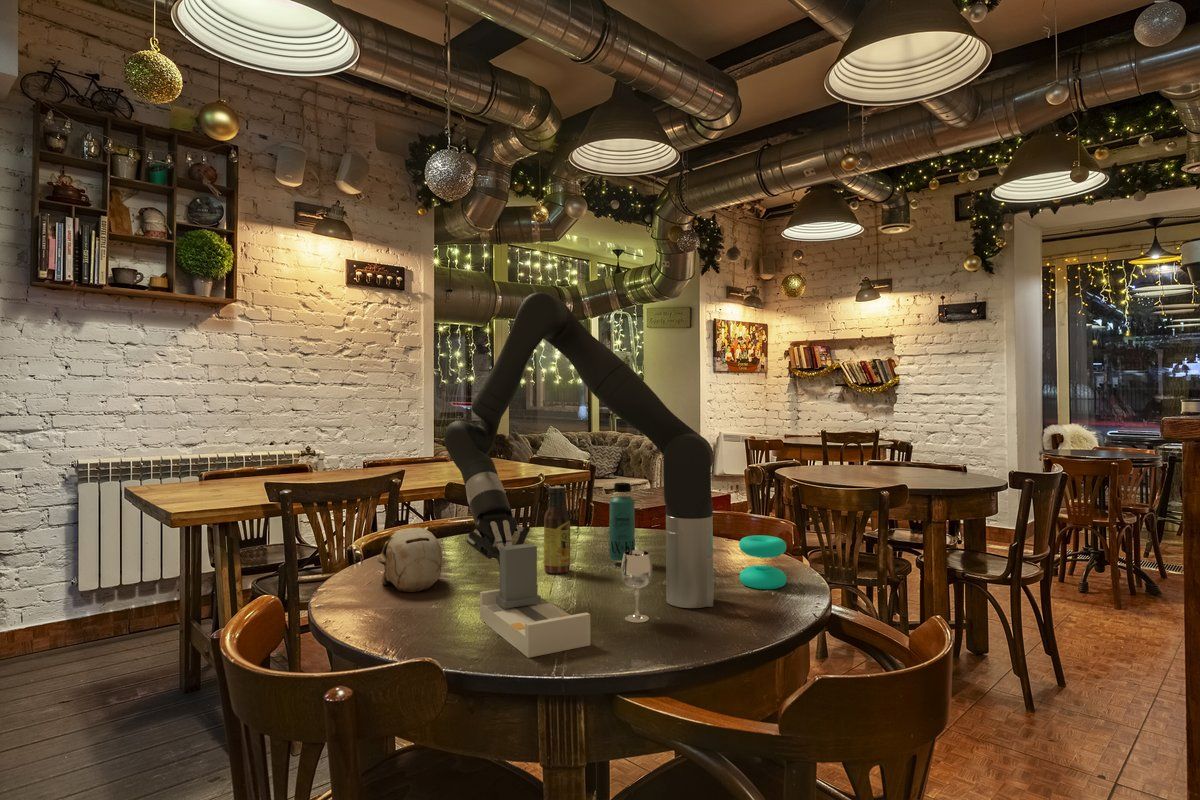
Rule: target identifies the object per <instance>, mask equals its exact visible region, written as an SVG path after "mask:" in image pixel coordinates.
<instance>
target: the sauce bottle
mask: <svg viewBox="0 0 1200 800" xmlns="http://www.w3.org/2000/svg"><path fill="white" fill-rule="evenodd" d="M566 489H567V488H566V486H549V487H548V497H549V498H548V499H549V503H548V508H547V510H546V511H545V514H544V517H543V519H544V520H543V521H544V523H543V524H544V526H543V565H544V566H543V570H544V572H545V573H547V574H554V575H555V574H557V575H558V574H559V573H560V574H565V573H568V572H569V571H570V566H571V519H570V516H569V513H568V510H567V507H566V492H567V490H566ZM560 574H559V575H560Z"/></svg>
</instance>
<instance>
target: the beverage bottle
mask: <svg viewBox="0 0 1200 800" xmlns="http://www.w3.org/2000/svg"><path fill="white" fill-rule="evenodd" d="M613 485H614V487H613V492H615V493H629V492H630V493H631V484H630V482H615V483H614V484H613ZM635 501H636V500H634V499H633V497H631V496H630V495H615V496H613V497H611V499H610V500H609V522H608V535H609V536H608V554H609V555H608V556H609V559H610V560H612V561H618V562H619V561H621V562H622V559H623V555H624V552H626V551H632V550H636V537H635V536H636V528H635V525H636V522H635V521H636V520H635V519H636V517H635V505H636V504H635Z"/></svg>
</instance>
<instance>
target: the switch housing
mask: <svg viewBox="0 0 1200 800" xmlns="http://www.w3.org/2000/svg"><path fill="white" fill-rule="evenodd" d="M538 589H539V588H538V584H537V594H538V592H539V591H538ZM538 595H539V594H538ZM496 596H500V588H498V589H491V590H484V591H480V592H479V619H481V621H482V622H483V623H484V622H485V623H486V624H485V623H484V624H485V625H487V626H488V627H489V628H490V629H492V630H493V631H494V632H495V633H496V634H498V635H499V636H501V638H503V640H505V641H506V642H507V643H509V644H511V646H513V647H514V648H515V649H517V650H518V651H519V652H520V653H521V654H523V655H524V656H526V657H527V659H528V658H534V657H538V656H539V657H540V656H543V655H549V654H554V653H558V652H563V651H567V650H572V649H573V650H574V649H578V648H583V647H588V646H591V614H590V613H588V612H582V613H581V612H580V613H576V614H570V613H568V612H567V611H565V610H563V609H562V608H559V607H558V606H555V605H554V604H552V603H551V602H549V601H548V600H546V599H544V598H542V597H541V603H537V604H531V605H525V606H519V607H513V608H507V609H504V608H502V607H501V606H500V605H498V604H497V603H496Z"/></svg>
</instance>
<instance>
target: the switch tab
mask: <svg viewBox="0 0 1200 800" xmlns="http://www.w3.org/2000/svg"><path fill="white" fill-rule="evenodd" d="M537 585H538V546H537V545H535V544H532V543H523V544H520V545H516V544H514V545H513V544H512V546H503V547H500V566H499V589H500V596H496V603H497V604H498V605H500V606H501V607H502V608H504V609H507V608H513V607H519V606H525V605H531V604H537V603H541V598H542V597H541V595H539V594H537Z"/></svg>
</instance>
